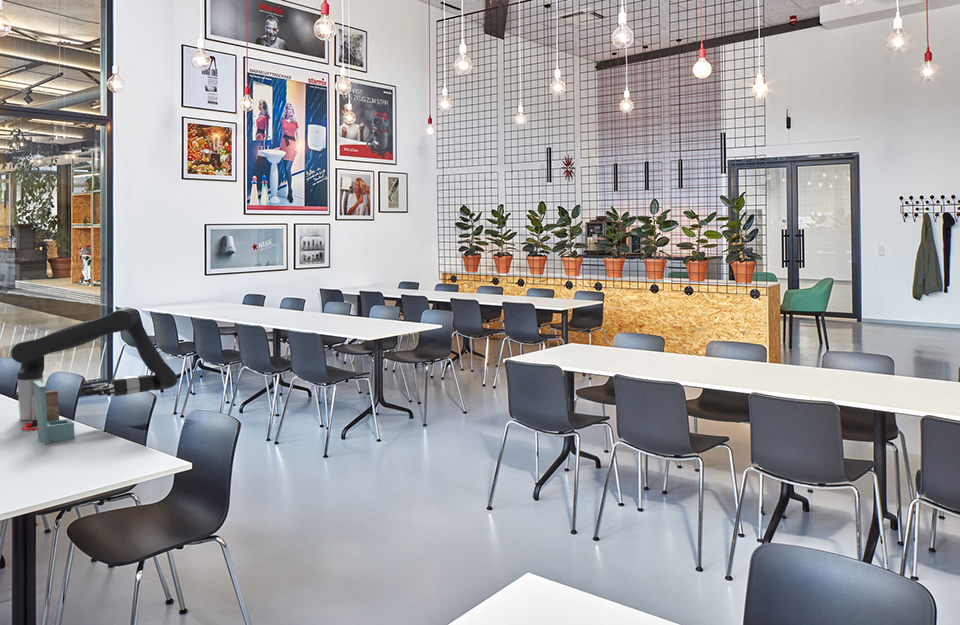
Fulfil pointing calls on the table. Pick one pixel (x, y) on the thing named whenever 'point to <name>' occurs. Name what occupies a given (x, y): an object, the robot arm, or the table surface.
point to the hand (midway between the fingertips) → (82, 391)
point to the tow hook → (34, 420)
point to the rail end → (52, 405)
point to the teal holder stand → (52, 428)
